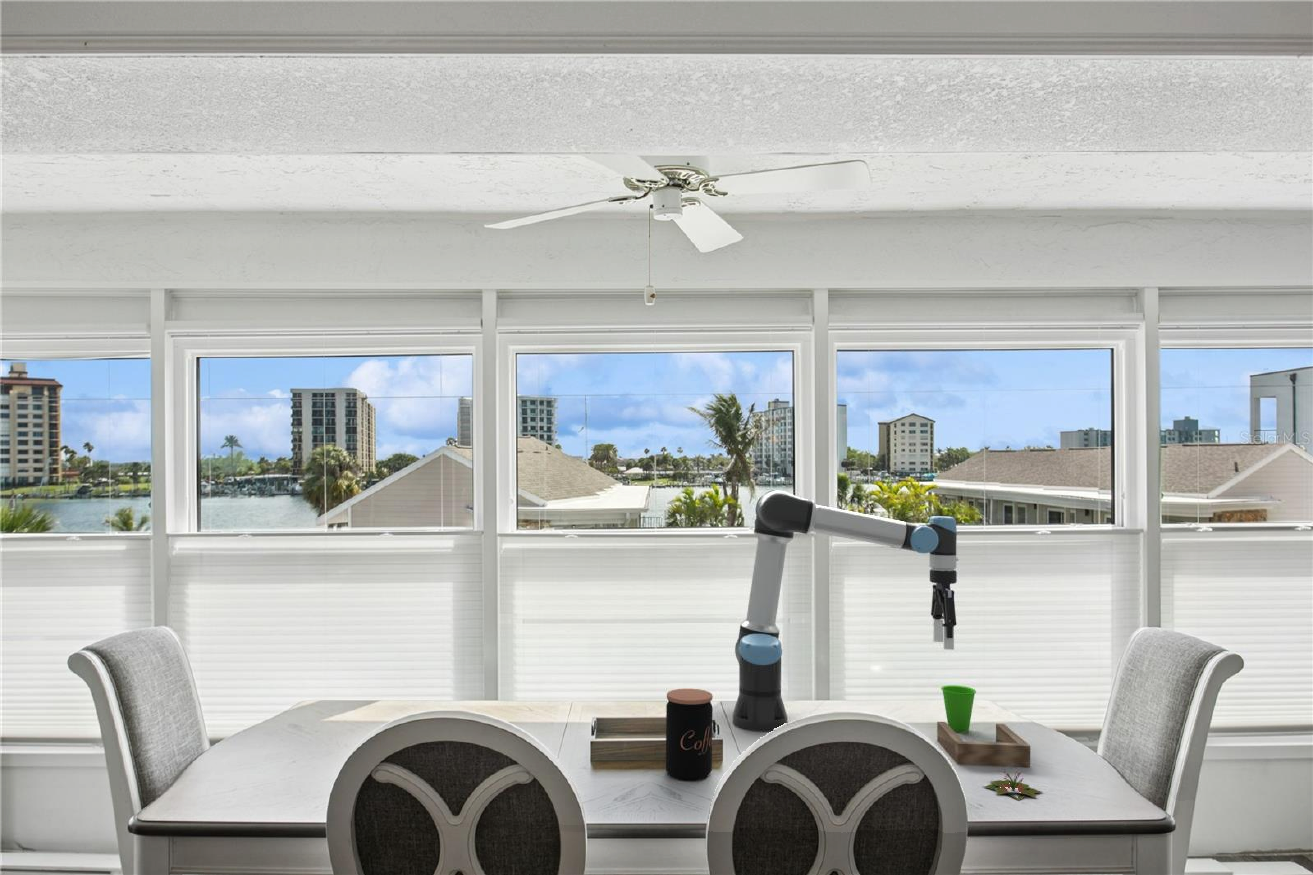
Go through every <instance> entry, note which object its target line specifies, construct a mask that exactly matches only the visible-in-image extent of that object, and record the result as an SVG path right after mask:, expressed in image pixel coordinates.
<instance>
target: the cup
mask: <svg viewBox="0 0 1313 875" xmlns="http://www.w3.org/2000/svg"><path fill="white" fill-rule="evenodd" d="M940 690H941V691H942V695H943V701H944V709H945V713H946V714H945V715H946V719H947V722H946V723H947V724H948V725H949V726H950V728H951V729H952V730H953V731H954V732H955V733H959V734H960V733H961V734H964V733H965V732H966V733H968V732H969V730H970V724H971V718H972V713H973V706H974V699H975V694H976V693H977V690H976V689H975V688H972V687H969V686H965V685H956V684H949V685H942V686H941V688H940Z"/></svg>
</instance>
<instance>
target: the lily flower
mask: <svg viewBox="0 0 1313 875" xmlns="http://www.w3.org/2000/svg"><path fill="white" fill-rule="evenodd" d="M1011 771H1013V770H1012V769H1011ZM1017 772H1018V770H1016V771H1015V773H1014V776H1011V774H1009V773H1008V772H1007V770H1006V769H1005V768H1004V769H1003V770H1002V771H1001V773H1004V774H1005V776H1004V777H1003V780H1001V779H997V780H994V781H993V780H991V781H989V782H990V783H993V784H987V785H985V786H983V788H985V789H991V790H994V791H995V792H996V796H999V795H1003V794H1006V795H1008V796H1011V797H1012V798H1014V799H1016V800H1017V801H1020V800H1022V799H1023V798H1024V797H1025V795H1027V796H1030V797H1031V798H1034V799H1037V800H1038V798H1037V797H1036V795H1035V794H1037V793H1042V791H1041V790H1038V789H1036V788H1033V787H1030V785H1029V784H1026V783H1023V781H1024V778H1021V779H1020V780H1018V778H1019V777H1020V774H1021V772H1018V773H1017ZM1009 783H1010V784H1009ZM1000 787H1001V788H1000ZM1005 787H1008V788H1007V789H1006V788H1005ZM1010 787H1011V788H1012V789H1011V788H1010ZM1015 788H1018V790H1017V792H1018V793H1019V792H1021V793H1020V794H1021V795H1020V794H1019V795H1018V796H1015V795H1013V794H1012V793H1015V794H1017V792H1016V791H1015V790H1016V789H1015ZM1008 789H1011V791H1009V790H1008ZM1013 791H1014V792H1013ZM1017 797H1018V798H1017Z"/></svg>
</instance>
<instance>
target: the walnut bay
mask: <svg viewBox="0 0 1313 875" xmlns="http://www.w3.org/2000/svg"><path fill="white" fill-rule="evenodd" d="M936 726H937V727H936V728H937V729H936V734H937V735H936V742H938V744H940V747H942V748H943V750H944V751H945V752H946V753H947V754H948V755H949V756H950V758H951V759H952V761H954V762H955V764H956V765H958V766H979V767H980V766H984V767H985V766H986V767H1007V766H1022V767H1021V768H1031V745H1030V744H1028V743H1027V742H1026V741H1025V740H1024V739H1023V738H1022V737H1020V736H1019V735H1018V734H1017V733H1015V732H1014V731H1013V730H1012V729H1011V728H1010V727H1009V726H1008V725H1006V724H1005V723H996V724H995V742H993V741H970V740H968V741H967V740H963V739H962V738H961V737H960V736H959V735H958V734H957V732H954V731H953V730H952V729H951V728H950V726H949V725H948V722H946V721H937V722H936ZM1023 766H1024V767H1023Z"/></svg>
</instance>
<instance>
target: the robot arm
mask: <svg viewBox="0 0 1313 875" xmlns="http://www.w3.org/2000/svg"><path fill="white" fill-rule="evenodd" d="M755 506H756V507H755V514H756V516H755V521H754V522H755V523H754V530H753V533H754V534H753V535H755V537H756V538H757V542H756V544H757V545H756V549H755V550H756V551H755V558H754V564H753V573H752V578H751V579H752V580H751V585H750V593H749V597H748V598H749V599H748V600H749V601H748V605H747V607H748V608H747V612H746V619H745V620H743V621H742V622H740V625H739V631H738V632H739V633H738V637H737V638H738V639H737V640H736V643H735V646H734V647H735V648H734V653H735V658H736V660H737V663H738V665H739V667H738V669H739V670H738V672H739V673H738V674H739V675H738V676H739V677H738V678H739V681H738V682H739V685H738V690H739V692H738V697H737V700H736V702H735V706H734V708H733V712H732V723H733V725H735V726H737V727H738V728H742V729H744V730H750V731H757V732H758V731H761V732H762V731H763V732H768V731H769V732H770V731H771V730H772V731H774V730H773V729H774V728H777V727H779V726H781V725H783V724H784V723H787V724H788V714H787V711H786V710H787V709H786V708H785V704H784V702H783V701H784V700H783V699H782V698H783V697H782V656H783V649H782V648H783V647H782V643H781V641H780V639H779V636H780V628H778V626H777V624H776V623H777V615H778V608H779V602H780V601H779V600H780V596H781V595H780V593H781V588H782V587H781V586H782V579H783V573H784V566H785V561H786V560H785V559H786V553H787V552H786V551H787V545H788V543H789V542H790V543H791V541H792V540H793V539H794V535H795V533H798V534H804V535H808V534H810V533H811V532H814V533H819V534H824V535H829V536H835V537H839V538H844V539H849V540H855V541H860V542H865V543H870V544H875V545H876V544H877V545H882V546H886V547H890V548H894V549H900V550H906V551H911V552H915V553H918V554H929V555H928V556H929V557H928V558H929V561H928V562H929V564H928V567H929V568H931V569H930V570H929V582H931V583H933V584H932V597H931V598H932V599H931V607H930V608H931V610H930V611H931V612H930V615H931V616H932V621H933V623H932V628H933V631H932V639H933V640H932V641H933V642H935V643H943V650H951V651H952V650H954V651H955V626H957V614H956V607H955V606H956V604H955V590H952V589H951V585H952V584H956V583H957V582H958V580H957V578H958V577H957V576H958V575H957V574H958V573H957V572H958V571H956V569H957V562H959V557H957V543H958V542H957V534H958V531H957V530H958V528H957V520H956V518H955V517H953V516H946V515H945V516H943V515H942V516H941V515H940V516H939V515H938V516H937V515H936V516H935V515H933V516H930V517H929V521H928V522H906V521H901V520H896V519H891V518H887V517H881V516H876V515H871V514H865V513H861V512H855V511H850V510H844V509H840V508H835V507H828V506H823V505H819V504H816V503H815V501H814V500H811V499H807V498H802V497H801V496H800V497H799V496H797V495H794V494H791V493H790V492H788V491H785V490H784V491H783V490H777V489H774V490H769V491H767V492H764V493H763V494H762V495H761V496H759V499H758V500H757V502H756V504H755Z"/></svg>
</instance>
